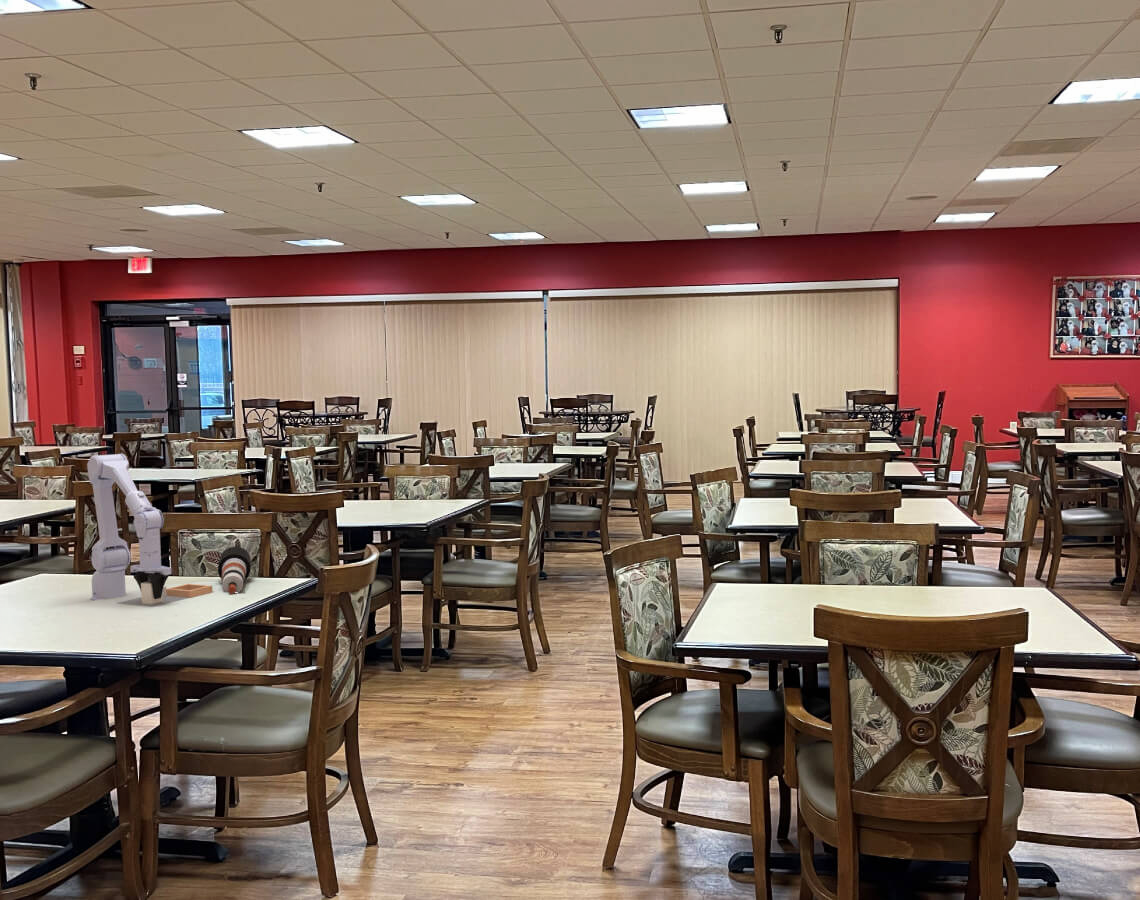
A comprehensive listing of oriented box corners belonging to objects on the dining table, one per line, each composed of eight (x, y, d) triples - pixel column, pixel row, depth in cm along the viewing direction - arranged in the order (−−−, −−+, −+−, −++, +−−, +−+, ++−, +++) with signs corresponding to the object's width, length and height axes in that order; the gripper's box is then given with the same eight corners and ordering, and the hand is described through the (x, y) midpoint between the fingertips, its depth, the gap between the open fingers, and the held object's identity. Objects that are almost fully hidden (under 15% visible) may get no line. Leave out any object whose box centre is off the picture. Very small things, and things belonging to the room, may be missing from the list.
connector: (141, 603, 299) (140, 576, 299) (152, 600, 303) (151, 573, 302) (151, 604, 298) (150, 577, 297) (162, 601, 301) (161, 574, 301)
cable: (225, 612, 311) (207, 584, 308) (229, 581, 343) (213, 556, 341) (255, 595, 313) (238, 567, 310) (256, 566, 345) (241, 541, 342)
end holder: (165, 595, 311) (165, 588, 311) (188, 590, 319) (188, 583, 319) (189, 597, 306) (189, 591, 306) (212, 592, 315) (212, 585, 314)
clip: (146, 597, 309) (146, 587, 309) (154, 595, 312) (154, 585, 311) (158, 598, 307) (158, 588, 306) (166, 596, 309) (166, 586, 309)
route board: (115, 606, 301) (115, 603, 301) (179, 591, 322) (179, 588, 322) (152, 610, 294) (152, 606, 294) (215, 594, 315) (214, 591, 315)
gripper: (121, 552, 299) (123, 598, 300) (156, 555, 293) (158, 602, 293) (140, 548, 305) (142, 594, 306) (176, 551, 299) (178, 597, 300)
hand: (152, 597), depth 300 cm, fingers closed on connector, 4 cm apart
